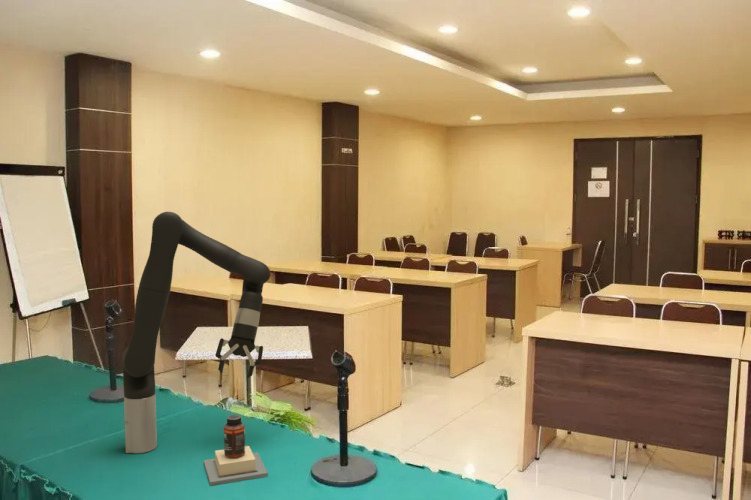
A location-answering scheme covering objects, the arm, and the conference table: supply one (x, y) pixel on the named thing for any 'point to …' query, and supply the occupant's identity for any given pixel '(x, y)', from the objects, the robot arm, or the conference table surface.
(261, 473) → the board
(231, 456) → the supplement bottle
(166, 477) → the conference table surface
